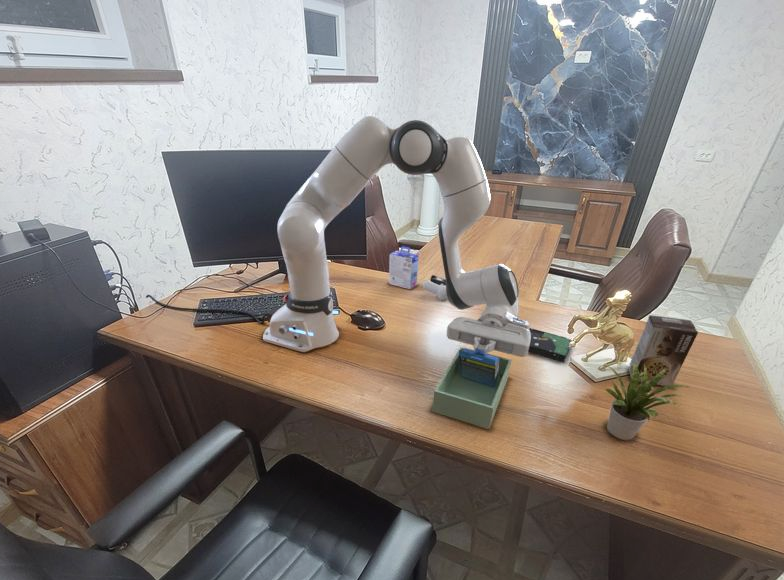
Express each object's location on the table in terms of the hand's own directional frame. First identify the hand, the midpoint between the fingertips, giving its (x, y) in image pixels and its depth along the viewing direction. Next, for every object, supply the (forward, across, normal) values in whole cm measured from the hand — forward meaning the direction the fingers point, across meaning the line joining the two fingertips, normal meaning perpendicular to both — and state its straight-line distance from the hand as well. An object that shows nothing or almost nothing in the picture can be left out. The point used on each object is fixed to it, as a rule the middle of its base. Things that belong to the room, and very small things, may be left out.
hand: (480, 351), depth 91 cm
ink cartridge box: (-50, -42, +10) cm, 66 cm away
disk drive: (-27, +12, +11) cm, 32 cm away
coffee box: (-25, +39, +11) cm, 48 cm away
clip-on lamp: (-48, -23, +10) cm, 54 cm away
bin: (+2, 0, +11) cm, 11 cm away
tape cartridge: (-4, 0, +10) cm, 10 cm away
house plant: (+1, +34, +11) cm, 36 cm away
